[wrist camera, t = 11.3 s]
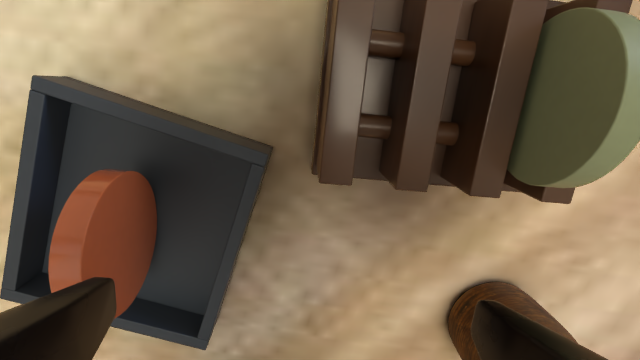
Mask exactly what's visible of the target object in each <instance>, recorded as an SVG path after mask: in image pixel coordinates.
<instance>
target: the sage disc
mask: <svg viewBox="0 0 640 360" xmlns="http://www.w3.org/2000/svg"><path fill="white" fill-rule="evenodd" d="M639 140H640V20H638V19H637V18H636V17H634V16H632V15H629V14H627V13H624V12H619V11H612V10H604V9H597V8H589V7H586V8H575V9H570V10H567V11H565V12H562V13H560V14H558V15H556V16H554V17H552V18H551V19H550V20H548V21H547V22H545V23H544V24H543V25H542V29H541V33H540V37H539V42H538V46H537V50H536V54H535V58H534V62H533V66H532V70H531V74H530V78H529V82H528V86H527V90H526V94H525V98H524V102H523V106H522V110H521V114H520V118H519V122H518V126H517V130H516V134H515V138H514V142H513V146H512V150H511V154H510V158H509V162H508V166H507V170H508V171H509V172H510V173H511V174H512V175H513V176H514V177H515V178H517V179H518V180H520V181H522V182H524V183H526V184H529V185H534V186H544V187H555V188H574V187H579V186H583V185H586V184H588V183H591V182H594V181H595V180H597V179H599V178H601V177H603V176H605V175H606V174H607V173H609V172H610V171H612V170H613V169H614V168H615V167H617V166H618V165H619V164H620V163H621V162H622V161H623V160H624V159H625V158H626V157H627V156H628V155H629V154H630V152H631V151H632V150H633V149H634V148H635V146H636V145H637V143H638V142H639Z"/></svg>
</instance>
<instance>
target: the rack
mask: <svg viewBox="0 0 640 360" xmlns="http://www.w3.org/2000/svg"><path fill="white" fill-rule="evenodd" d="M631 3H632V0H573V1H570V2H567V3H566V2H559V1H551V0H328V1H327V11H326V21H325V32H324V42H323V53H322V63H321V74H320V84H319V94H318V105H317V115H316V126H315V136H314V147H313V157H312V168H311V170H312V174H314V175H318V178H319V183H324V184H336V185H348V186H351V185H352V180H353V178H360V179H372V180H384V181H389V183H390V184H391V185H392V186H393V187H394V188H395V189H396V190H407V191H419V192H427V188H428V184H430V185H442V186H454V187H457V188H459V189H460V190H462V191H463V192H465V193H466V194H468V195H470V196H479V197H491V198H500V195H501V191H512V192H522V193H524V194H526V195H529V196H531V197H533V198H535V199H537V200H539V201H541V202H551V203H563V204H570V203H571V200H572V196H573V193H574V190H575V187H574V188H555V187H544V186H534V185H529V184H526V183H524V182H522V181H520V180H518V179H517V178H515V177H514V176H513V175H512V174H511V173H510V172H509V171H508V170H507V166H508V162H509V158H510V154H511V150H512V146H513V142H514V138H515V134H516V130H517V126H518V122H519V118H520V114H521V110H522V106H523V102H524V98H525V94H526V90H527V86H528V82H529V78H530V74H531V70H532V66H533V62H534V58H535V54H536V50H537V46H538V42H539V37H540V33H541V29H542V25H543V24H544V23H545V22H547V21H548V20H550V19H551V18H552V17H554V16H556V15H558V14H560V13H562V12H565V11H567V10H570V9H575V8H586V7H589V8H597V9H604V10H612V11H619V12H624V13H627V14H628V13H629V10H630V7H631Z"/></svg>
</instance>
